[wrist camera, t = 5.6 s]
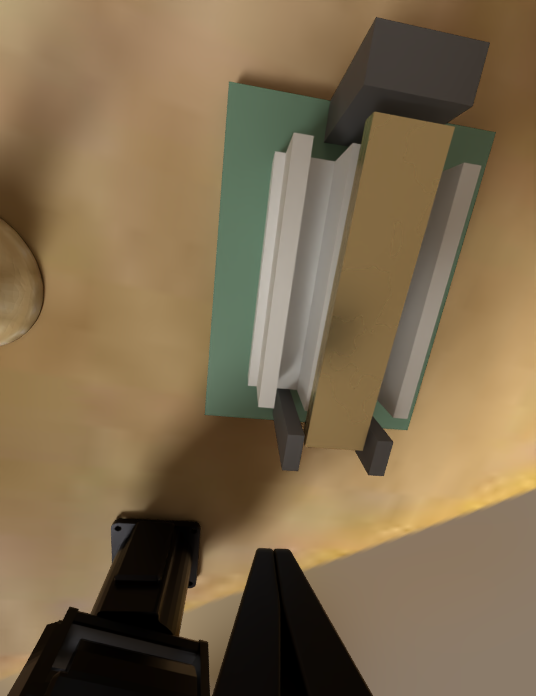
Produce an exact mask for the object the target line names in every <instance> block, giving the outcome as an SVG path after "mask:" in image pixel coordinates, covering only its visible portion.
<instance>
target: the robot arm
mask: <svg viewBox="0 0 536 696" xmlns="http://www.w3.org/2000/svg"><path fill="white" fill-rule="evenodd" d="M119 526H120V527H119ZM200 530H201V526H200V524H199V523H198V522H189V521H164V520H138V519H117V520H115V521H114V522H113V524H112V526H111V544H112V565H111V567H110V570H109V572H108V574H107V577H106V579H105V581H104V584H103V586H102V588H101V591H100V593H99V595H98V597H97V600H96V602H95V604H94V607H93V609H92V611H91V614H88V613H84V612H80V611H78V610H79V609H77V608H73V607H69V609H68V611H67V613H66V615H65V617H64V619H63V621H62V620H59V621H58V622H55V623H51V624H48V625H47V626H46V628H45V629H44V631H43V633H42V635H41V637H40V639H39V641H38V642H37V644H36V646H35V648H34V650H33V652H32V654H31V655H30V657H29V659H28V661H27V663H26V664H25V666H24V668H23V670H22V671H21V673H20V675H19V676H18V678H17V680H16V682H15V683H14V685H13V687H12V689H11V690H10V692H9V694H8V695H7V696H210V685H209V656H208V642H207V641H203V640H199V641H195V640H191V639H187V638H183V637H179V633H180V628H181V622H182V617H183V611H184V605H185V600H186V594H187V588H193V587H194V586H195V585H196V580H197V569H198V556H199V543H200ZM212 696H373V695H372V693H371V691H370V690H369V688H368V686H367V684H366V683H365V681H364V679H363V677H362V675H361V674H360V672H359V670H358V668H357V667H356V665H355V663H354V661H353V660H352V658H351V656H350V655H349V653H348V651H347V649H346V647H345V646H344V644H343V642H342V640H341V639H340V637H339V635H338V633H337V632H336V630H335V628H334V626H333V624H332V623H331V621H330V619H329V617H328V616H327V614H326V612H325V610H324V609H323V607H322V605H321V604H320V602H319V600H318V598H317V597H316V595H315V593H314V591H313V589H312V588H311V586H310V584H309V582H308V580H307V579H306V577H305V576H304V573H303V572H302V570H301V568H300V566H299V565H298V563H297V561H296V559H295V558H294V556H293V554H292V552H291V551H290V550H289V549H274V551H273V550H272V549H270V548H258V549H257V551H256V553H255V557H254V560H253V563H252V566H251V570H250V573H249V576H248V580H247V583H246V586H245V590H244V593H243V596H242V599H241V603H240V606H239V609H238V613H237V616H236V619H235V623H234V626H233V629H232V632H231V636H230V639H229V642H228V646H227V649H226V652H225V655H224V659H223V662H222V666H221V669H220V672H219V675H218V679H217V682H216V685H215V688H214V692H213V695H212Z"/></svg>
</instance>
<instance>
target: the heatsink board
mask: <svg viewBox="0 0 536 696" xmlns="http://www.w3.org/2000/svg"><path fill="white" fill-rule="evenodd" d="M489 44H490V43H489V42H485V41H480V40H476V39H471V38H467V37H462V36H458V35H453V34H449V33H444V32H440V31H436V30H431V29H427V28H422V27H418V26H413V25H409V24H404V23H400V22H395V21H391V20H386V19H382V18H377V17H376V18H375V20H374V22H373V24H372V26H371V27H370V29H369V31H368V33H367V35H366V37H365V38H364V40H363V42H362V44H361V46H360V48H359V49H358V51H357V53H356V55H355V57H354V58H353V60H352V62H351V64H350V66H349V68H348V69H347V71H346V73H345V75H344V77H343V79H342V80H341V82H340V84H339V86H338V88H337V90H336V91H335V93H334V95H333V97H332V99H331V100H330V101H329V100H324V99H318V98H313V97H308V96H303V95H297V94H292V93H287V92H282V91H276V90H271V89H266V88H261V87H255V86H250V85H245V84H240V83H234V82H229V90H228V104H227V117H226V131H225V145H224V158H223V172H222V186H221V199H220V213H219V227H218V240H217V254H216V268H215V281H214V295H213V309H212V322H211V336H210V350H209V363H208V377H207V391H206V404H205V415H214V416H227V417H240V418H253V419H267V420H274V425H275V431H276V437H277V443H278V449H279V455H280V461H281V467H282V470H287V471H298V469H299V464H300V459H301V453H302V448H303V442H304V437H305V435H304V432H303V429H302V426H301V423H300V422H305V421H306V416H307V411H308V406H309V401H310V396H311V391H312V386H313V381H314V376H315V371H316V366H317V361H318V356H319V351H320V346H321V341H322V336H323V331H324V326H325V321H326V316H327V311H328V306H329V301H330V296H331V291H332V286H333V281H334V276H335V271H336V266H337V261H338V256H339V251H340V246H341V241H342V236H343V231H344V226H345V221H346V216H347V211H348V206H349V201H350V196H351V191H352V186H353V181H354V176H355V171H356V166H357V161H358V156H359V151H360V146H361V141H362V136H363V131H364V126H365V121H366V119H367V118H368V117H369V116H370V115H371V114H372V113H373V112H380V113H385V114H390V115H395V116H401V117H406V118H411V119H417V120H422V121H427V122H432V123H438V124H443V125H448V126H453V127H455V129H454V132H453V136H452V139H451V143H450V146H449V150H448V153H447V157H446V160H445V164H444V167H443V171H442V174H441V178H440V181H439V185H438V188H437V192H436V195H435V199H434V202H433V206H432V209H431V213H430V216H429V220H428V223H427V227H426V230H425V234H424V237H423V241H422V244H421V248H420V251H419V255H418V258H417V262H416V265H415V269H414V272H413V276H412V279H411V283H410V286H409V290H408V293H407V297H406V300H405V304H404V307H403V311H402V314H401V318H400V321H399V325H398V328H397V332H396V335H395V339H394V342H393V346H392V349H391V353H390V356H389V360H388V363H387V367H386V370H385V374H384V377H383V381H382V384H381V388H380V391H379V395H378V398H377V402H376V405H375V409H374V412H373V416H372V419H371V423H370V426H369V430H368V433H367V437H366V440H365V444H364V447H363V451H359V450H355V452H356V454H357V455H358V457H359V459H360V461H361V463H362V464H363V466H364V468H365V470H366V472H367V473H368V475H373V476H384V473H385V470H386V466H387V463H388V459H389V456H390V452H391V449H392V445H393V441H392V440H391V438H390V437H389V436H388V435H387V433H386V432H385V431H384V429H383V428H386V429H399V430H408V427H409V423H410V420H411V416H412V413H413V410H414V406H415V403H416V400H417V396H418V393H419V389H420V386H421V383H422V379H423V376H424V373H425V369H426V366H427V363H428V359H429V356H430V352H431V349H432V346H433V342H434V339H435V336H436V332H437V329H438V325H439V322H440V319H441V315H442V312H443V309H444V305H445V302H446V299H447V295H448V292H449V288H450V285H451V282H452V278H453V275H454V272H455V268H456V265H457V261H458V258H459V255H460V251H461V248H462V245H463V241H464V238H465V235H466V231H467V228H468V224H469V221H470V218H471V214H472V211H473V208H474V204H475V201H476V197H477V194H478V191H479V187H480V184H481V181H482V177H483V174H484V171H485V167H486V164H487V160H488V157H489V154H490V150H491V147H492V144H493V140H494V137H495V133H496V132H492V131H486V130H481V129H476V128H471V127H465V126H460V125H455V124H450V123H448V122H449V121H451V120H452V119H454V118H455V117H457V116H458V115H460V114H461V113H463V112H465V111H466V110H468V109H469V108H471V107H472V106H473V103H474V99H475V96H476V92H477V88H478V85H479V81H480V77H481V74H482V70H483V66H484V63H485V59H486V55H487V52H488V48H489Z"/></svg>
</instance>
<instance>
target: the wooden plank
mask: <svg viewBox="0 0 536 696" xmlns="http://www.w3.org/2000/svg"><path fill="white" fill-rule="evenodd" d="M454 129H455V127H453V126H448V125H443V124H438V123H432V122H427V121H422V120H417V119H411V118H406V117H401V116H395V115H390V114H385V113H380V112H373V113H372V114H371V115H370V116H369V117H368V118H367V119H366V121H365V126H364V131H363V136H362V141H361V146H360V151H359V156H358V161H357V166H356V171H355V176H354V181H353V186H352V191H351V196H350V201H349V206H348V211H347V216H346V221H345V226H344V231H343V236H342V241H341V246H340V251H339V256H338V261H337V266H336V271H335V276H334V281H333V286H332V291H331V296H330V301H329V306H328V311H327V316H326V321H325V326H324V331H323V336H322V341H321V346H320V351H319V356H318V361H317V366H316V371H315V376H314V381H313V386H312V391H311V396H310V401H309V406H308V411H307V416H306V421H305V426H304V431H303V432H304V435H305V437H304V445H305V447H314V448H329V449H344V450H359V451H363V447H364V444H365V440H366V437H367V433H368V430H369V426H370V423H371V419H372V416H373V412H374V409H375V405H376V402H377V398H378V395H379V391H380V388H381V384H382V381H383V377H384V374H385V370H386V367H387V363H388V360H389V356H390V353H391V349H392V346H393V342H394V339H395V335H396V332H397V328H398V325H399V321H400V318H401V314H402V311H403V307H404V304H405V300H406V297H407V293H408V290H409V286H410V283H411V279H412V276H413V272H414V269H415V265H416V262H417V258H418V255H419V251H420V248H421V244H422V241H423V237H424V234H425V230H426V227H427V223H428V220H429V216H430V213H431V209H432V206H433V202H434V199H435V195H436V192H437V188H438V185H439V181H440V178H441V174H442V171H443V167H444V164H445V160H446V157H447V153H448V150H449V146H450V143H451V139H452V136H453V132H454Z"/></svg>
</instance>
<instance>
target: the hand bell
mask: <svg viewBox="0 0 536 696" xmlns="http://www.w3.org/2000/svg"><path fill="white" fill-rule="evenodd" d="M42 302H43V283H42V278H41V274H40V271H39V268H38V265H37V262H36V260H35V258H34V256H33V255H32V252H31V251H30V249H29V248H28V246H27V245H26V244H25V242H24V241H23V240H22V238H21V237H20V236H19V235H18V233H17V232H16V231H15V230H14V229H13V228H12V227H10V226H9V225H8V224H7V223H6V222H5V221H3V220H2V219H0V346H2V345H5V344H7V343H10V342H13V341H15V340H17V339H19V338H20V337H21V336H22V335H24V334H25V333H26V332H27V331H28V330H29V329H30V328H31V327H32V326H33V324H34V323H35V321H36V320H37V318H38V316H39V313H40V310H41V306H42Z"/></svg>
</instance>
